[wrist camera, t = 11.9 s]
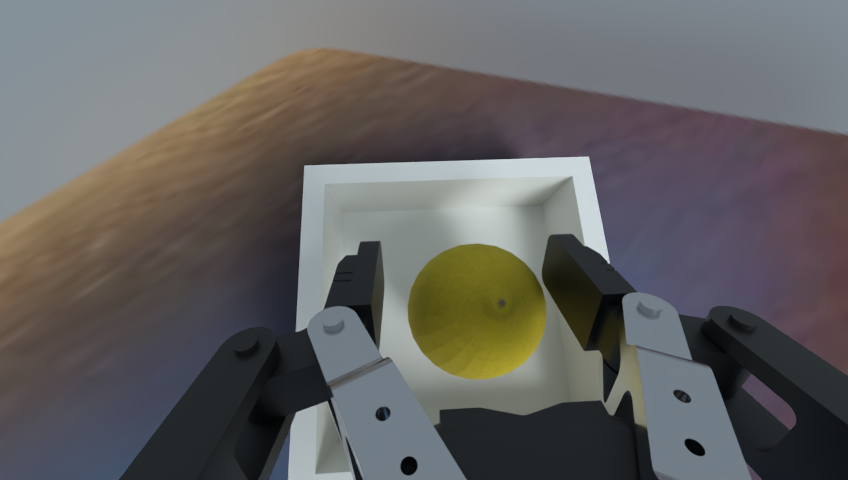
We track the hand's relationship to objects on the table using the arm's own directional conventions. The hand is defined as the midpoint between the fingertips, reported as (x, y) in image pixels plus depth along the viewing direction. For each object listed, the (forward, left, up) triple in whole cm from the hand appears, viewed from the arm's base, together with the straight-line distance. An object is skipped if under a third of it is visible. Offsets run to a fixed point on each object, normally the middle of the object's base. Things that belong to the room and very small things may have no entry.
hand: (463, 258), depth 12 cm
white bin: (0, -2, -7) cm, 7 cm away
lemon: (0, -2, -6) cm, 7 cm away
